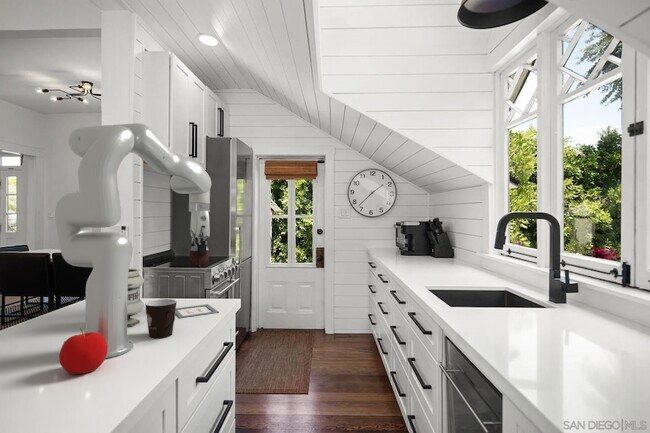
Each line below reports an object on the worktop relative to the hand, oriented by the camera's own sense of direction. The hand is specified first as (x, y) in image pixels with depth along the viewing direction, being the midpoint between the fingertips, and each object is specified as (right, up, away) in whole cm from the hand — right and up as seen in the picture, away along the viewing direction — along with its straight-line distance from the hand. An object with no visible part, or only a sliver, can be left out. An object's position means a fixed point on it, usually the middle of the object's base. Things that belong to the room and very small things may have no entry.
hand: (198, 254), depth 134 cm
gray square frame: (-1, -22, -1) cm, 22 cm away
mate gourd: (0, -5, 0) cm, 5 cm away
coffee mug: (-1, -22, -30) cm, 37 cm away
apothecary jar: (-19, -22, -18) cm, 34 cm away
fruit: (-8, -22, -53) cm, 58 cm away
